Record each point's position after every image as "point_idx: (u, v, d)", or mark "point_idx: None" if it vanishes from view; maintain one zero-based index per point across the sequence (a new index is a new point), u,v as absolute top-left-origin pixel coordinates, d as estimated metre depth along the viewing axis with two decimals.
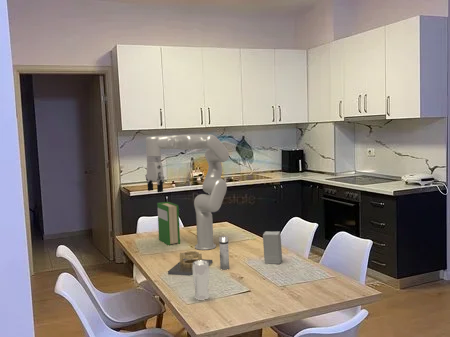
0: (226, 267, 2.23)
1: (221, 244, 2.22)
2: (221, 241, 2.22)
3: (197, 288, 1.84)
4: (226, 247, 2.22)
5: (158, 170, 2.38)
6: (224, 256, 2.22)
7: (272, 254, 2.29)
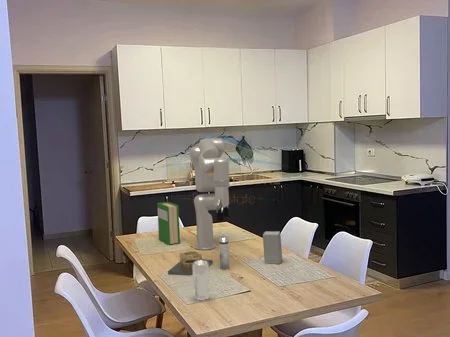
0: (226, 267, 2.23)
1: (221, 244, 2.22)
2: (221, 241, 2.22)
3: (197, 288, 1.84)
4: (226, 247, 2.22)
5: None
6: (224, 256, 2.22)
7: (272, 254, 2.29)
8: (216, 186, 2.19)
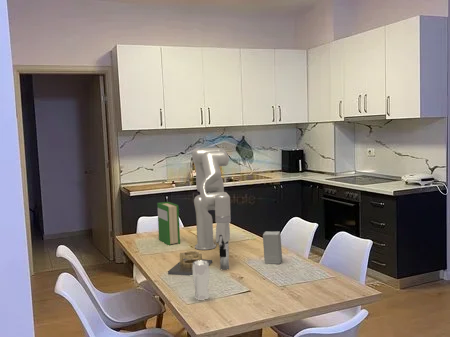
0: (226, 267, 2.23)
1: None
2: None
3: (197, 288, 1.84)
4: (226, 247, 2.22)
5: None
6: None
7: (272, 254, 2.29)
8: (217, 222, 2.20)
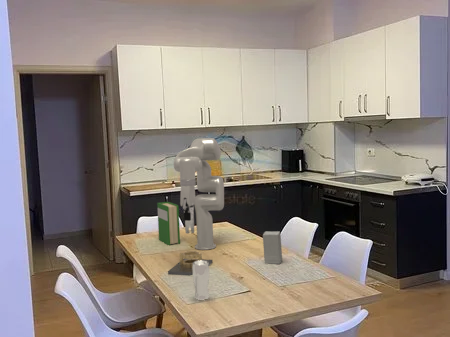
0: (191, 231, 2.24)
1: None
2: (186, 205, 2.23)
3: (197, 288, 1.84)
4: (191, 211, 2.23)
5: None
6: None
7: (272, 254, 2.29)
8: (182, 185, 2.21)
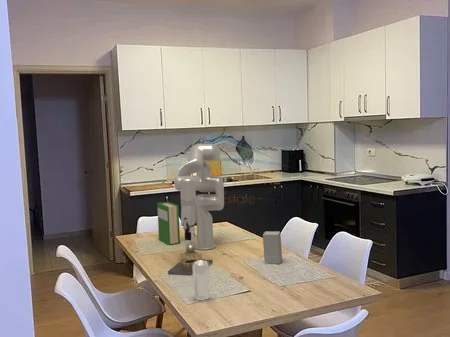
0: (191, 250, 2.25)
1: None
2: None
3: (197, 288, 1.84)
4: (191, 230, 2.24)
5: None
6: None
7: (272, 254, 2.29)
8: (182, 205, 2.22)
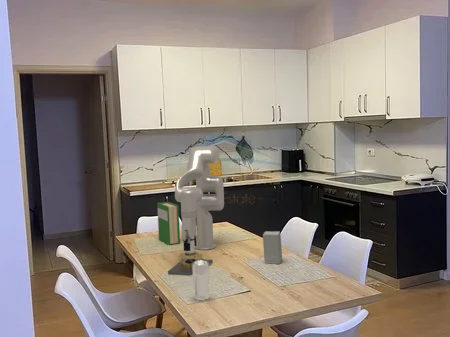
0: None
1: None
2: None
3: (197, 288, 1.84)
4: (192, 244, 2.25)
5: None
6: (190, 253, 2.25)
7: (272, 254, 2.29)
8: (183, 217, 2.23)
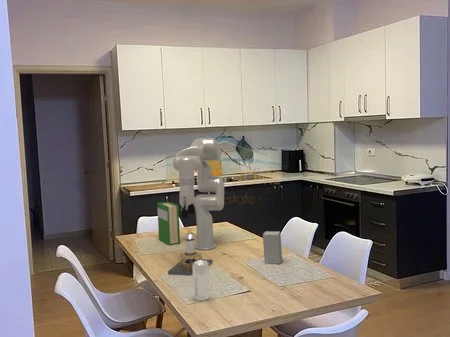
0: None
1: (187, 241, 2.25)
2: (187, 238, 2.24)
3: (197, 288, 1.84)
4: (192, 244, 2.25)
5: None
6: (190, 253, 2.25)
7: (272, 254, 2.29)
8: (181, 184, 2.23)
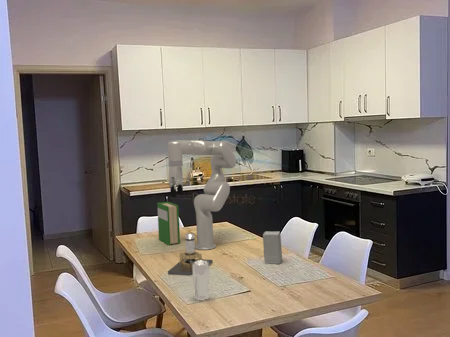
0: None
1: (187, 241, 2.25)
2: (187, 238, 2.25)
3: (197, 288, 1.84)
4: (192, 244, 2.25)
5: None
6: (190, 253, 2.25)
7: (272, 254, 2.29)
8: (170, 166, 2.41)
